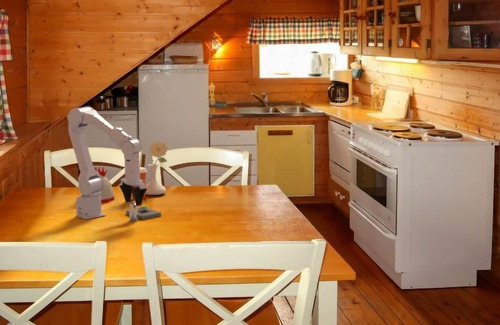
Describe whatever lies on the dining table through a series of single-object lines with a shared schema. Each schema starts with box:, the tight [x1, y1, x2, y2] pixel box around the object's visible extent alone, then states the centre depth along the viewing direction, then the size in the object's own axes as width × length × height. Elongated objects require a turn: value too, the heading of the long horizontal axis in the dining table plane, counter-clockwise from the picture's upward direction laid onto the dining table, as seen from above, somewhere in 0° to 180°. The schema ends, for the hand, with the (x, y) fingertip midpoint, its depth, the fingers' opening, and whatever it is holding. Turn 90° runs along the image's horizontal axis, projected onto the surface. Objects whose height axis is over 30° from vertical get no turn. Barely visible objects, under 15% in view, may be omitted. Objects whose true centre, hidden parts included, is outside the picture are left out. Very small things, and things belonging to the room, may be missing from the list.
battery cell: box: [128, 201, 139, 223], centre depth 274 cm, size 3×3×8 cm
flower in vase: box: [145, 140, 168, 196], centre depth 317 cm, size 13×11×25 cm
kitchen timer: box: [94, 166, 115, 204], centre depth 308 cm, size 14×14×15 cm
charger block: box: [125, 205, 162, 221], centre depth 283 cm, size 9×12×2 cm
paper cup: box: [131, 166, 148, 201], centre depth 309 cm, size 8×8×14 cm
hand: (133, 203), depth 273 cm, fingers open, 7 cm apart
